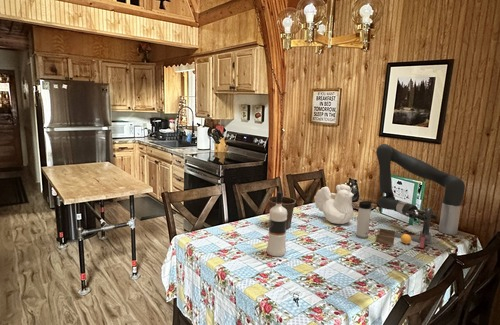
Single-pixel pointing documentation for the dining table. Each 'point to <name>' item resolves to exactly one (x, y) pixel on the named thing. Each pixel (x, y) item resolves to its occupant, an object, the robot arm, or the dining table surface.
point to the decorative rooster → (335, 204)
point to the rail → (412, 237)
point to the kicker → (426, 227)
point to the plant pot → (287, 204)
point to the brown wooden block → (385, 236)
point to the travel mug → (363, 219)
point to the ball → (406, 238)
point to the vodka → (277, 228)
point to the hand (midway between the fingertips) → (430, 218)
